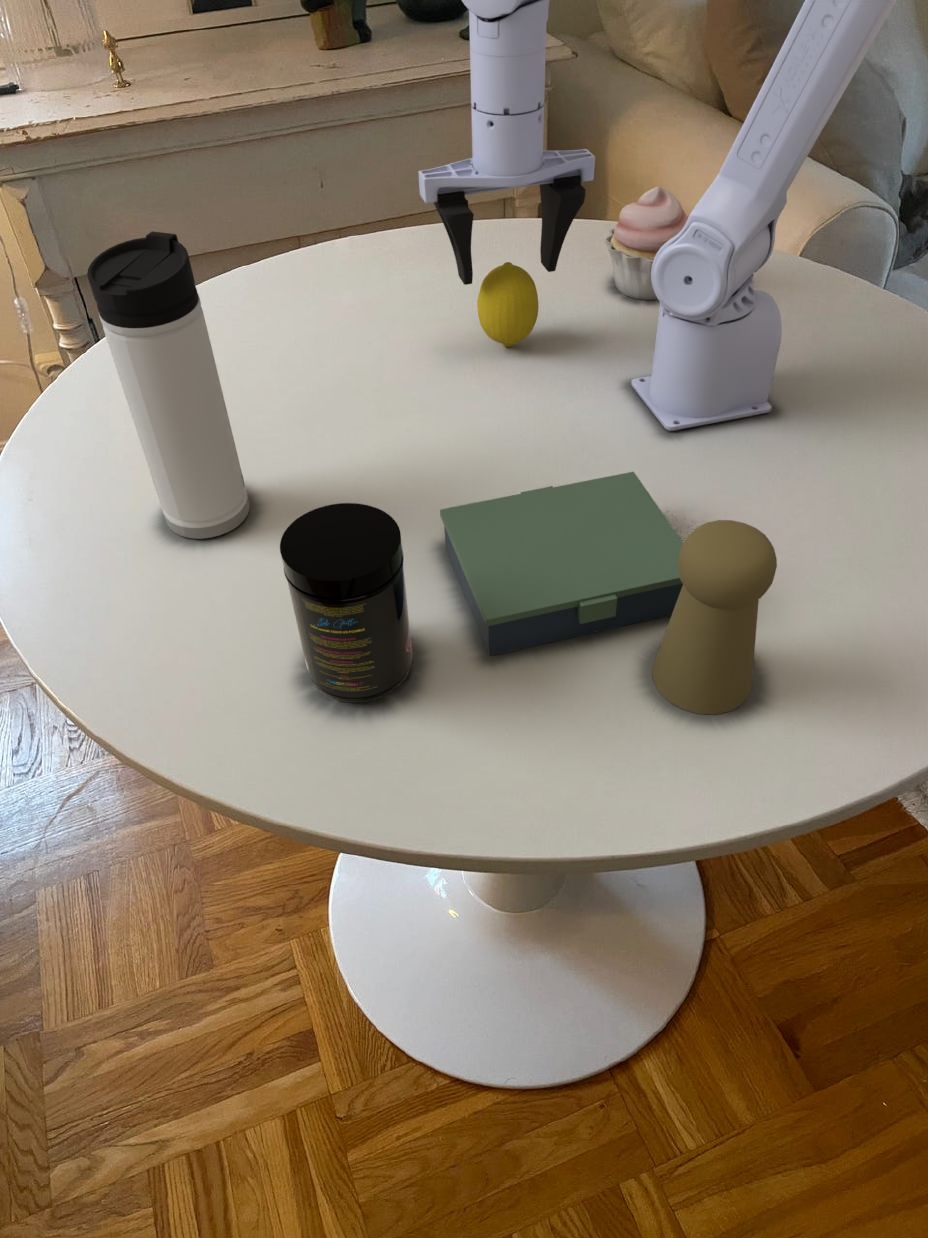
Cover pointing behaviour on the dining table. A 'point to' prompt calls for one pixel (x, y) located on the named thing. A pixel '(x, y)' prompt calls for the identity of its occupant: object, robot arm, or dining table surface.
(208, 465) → the travel mug
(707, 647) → the brown pawn
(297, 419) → the dining table surface
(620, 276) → the cupcake
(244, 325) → the dining table surface
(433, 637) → the dining table surface
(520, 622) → the lunchbox
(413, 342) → the dining table surface
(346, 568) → the supplement container
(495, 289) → the lemon
